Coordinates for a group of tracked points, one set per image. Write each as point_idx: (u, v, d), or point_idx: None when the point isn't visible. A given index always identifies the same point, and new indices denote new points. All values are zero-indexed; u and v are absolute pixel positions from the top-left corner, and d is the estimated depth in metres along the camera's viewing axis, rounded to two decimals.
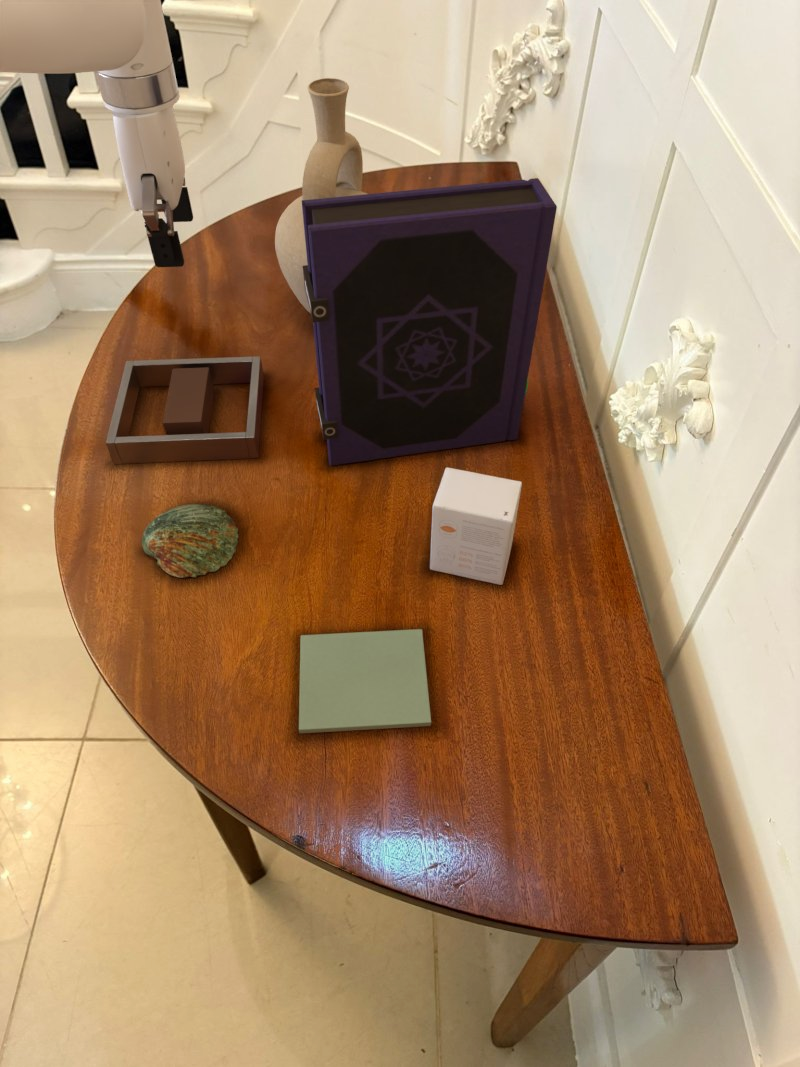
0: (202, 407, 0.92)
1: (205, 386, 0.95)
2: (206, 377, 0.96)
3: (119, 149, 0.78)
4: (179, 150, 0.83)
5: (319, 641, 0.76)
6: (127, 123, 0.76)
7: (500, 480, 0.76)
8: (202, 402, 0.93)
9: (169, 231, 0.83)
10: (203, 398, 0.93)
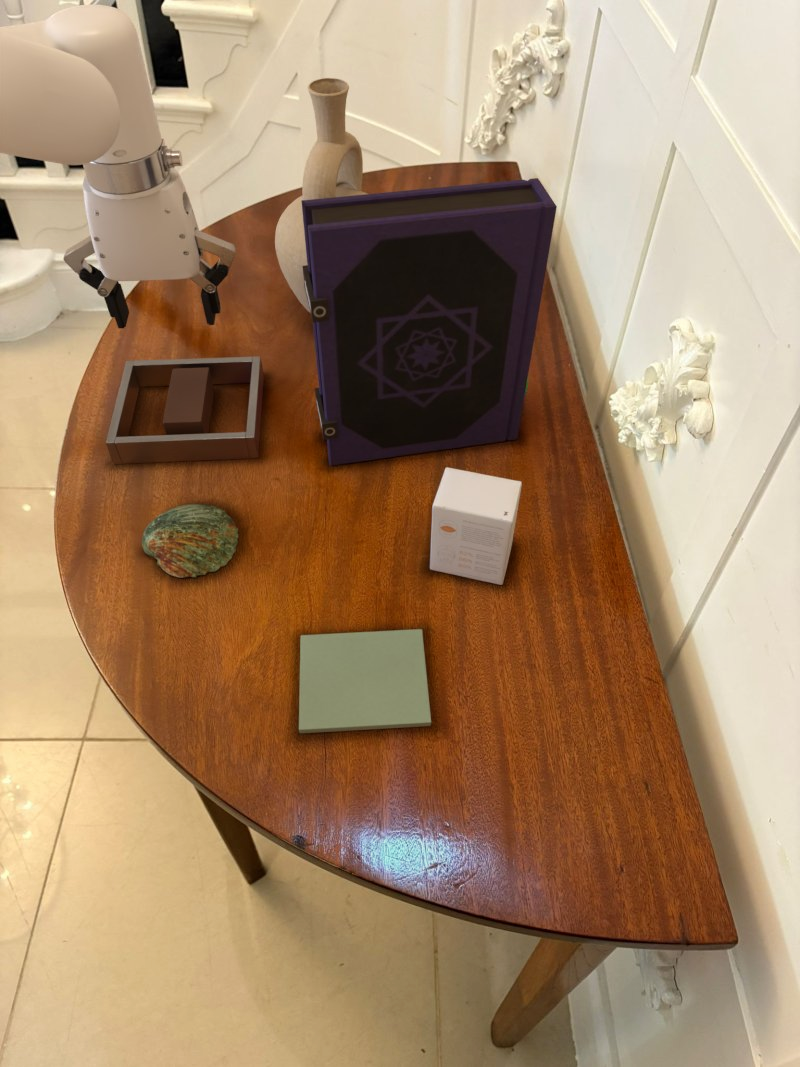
0: (202, 407, 0.92)
1: (205, 386, 0.95)
2: (206, 377, 0.96)
3: None
4: (154, 248, 0.77)
5: (319, 641, 0.76)
6: None
7: (500, 480, 0.76)
8: (202, 402, 0.93)
9: None
10: (203, 398, 0.93)
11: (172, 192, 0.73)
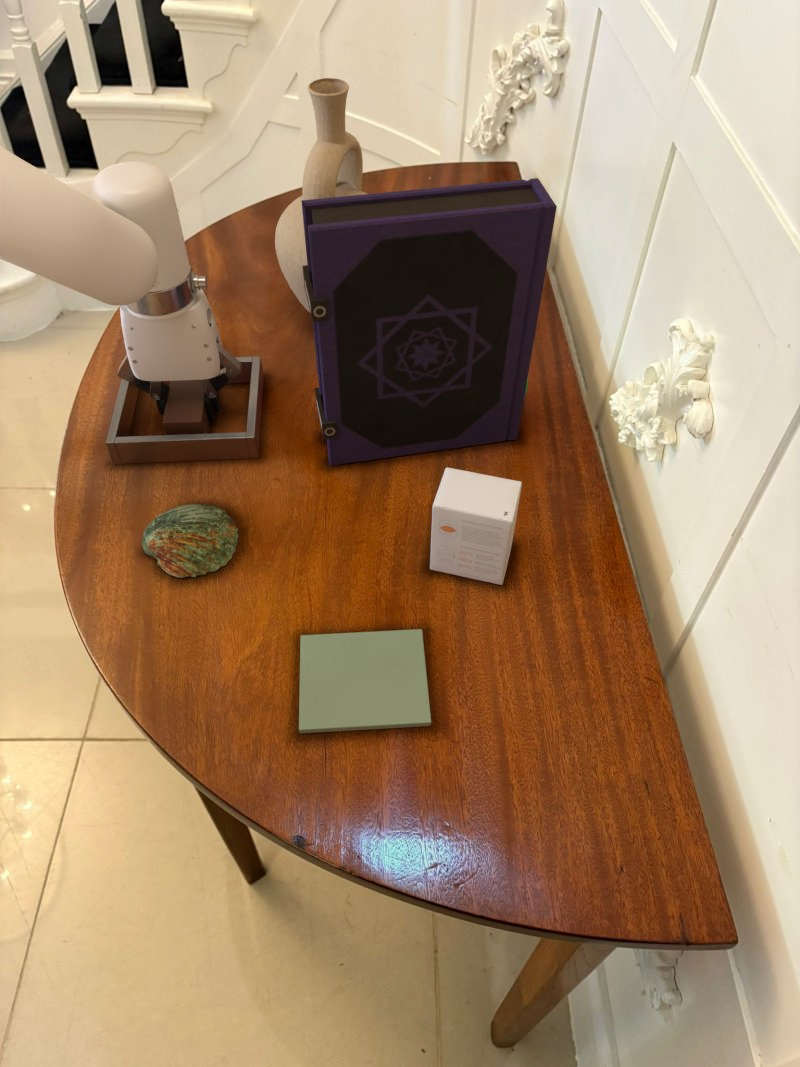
0: (202, 407, 0.92)
1: None
2: None
3: None
4: (181, 356, 0.87)
5: (319, 641, 0.76)
6: None
7: (500, 480, 0.76)
8: (202, 402, 0.93)
9: (150, 393, 0.92)
10: (203, 398, 0.93)
11: (198, 311, 0.83)
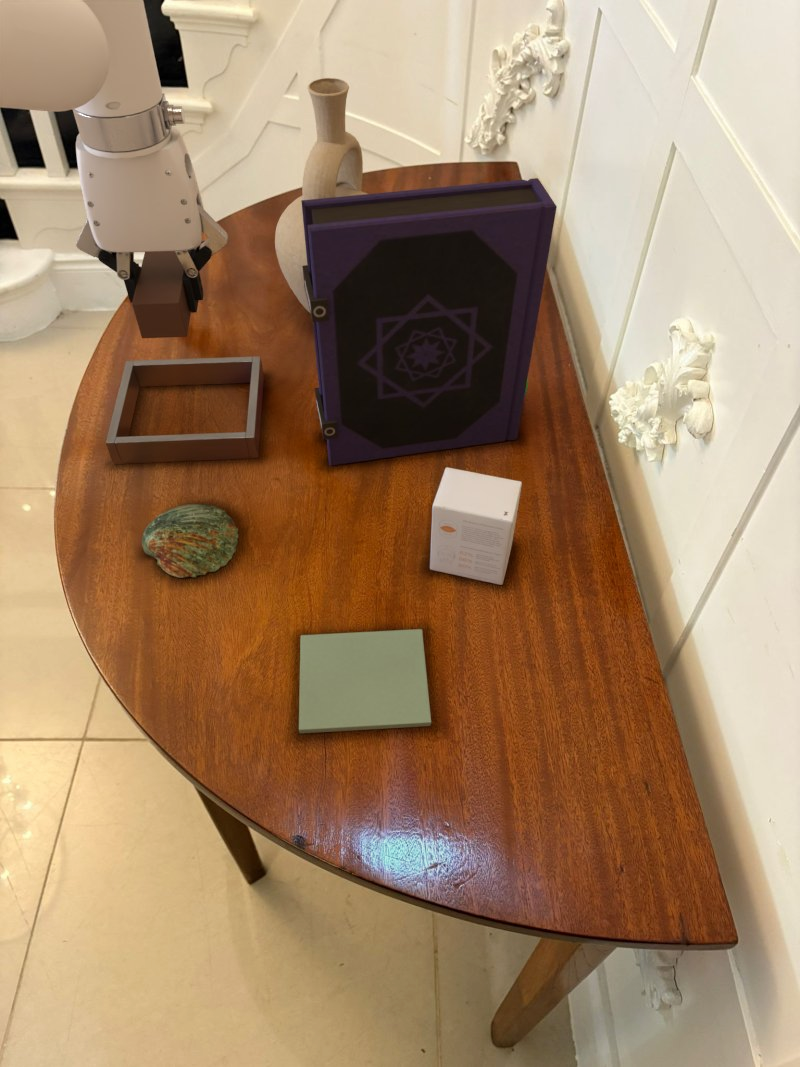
0: (180, 288, 0.76)
1: None
2: None
3: None
4: (153, 215, 0.71)
5: (319, 641, 0.76)
6: None
7: (500, 480, 0.76)
8: (180, 283, 0.77)
9: (117, 271, 0.76)
10: None
11: (173, 152, 0.67)
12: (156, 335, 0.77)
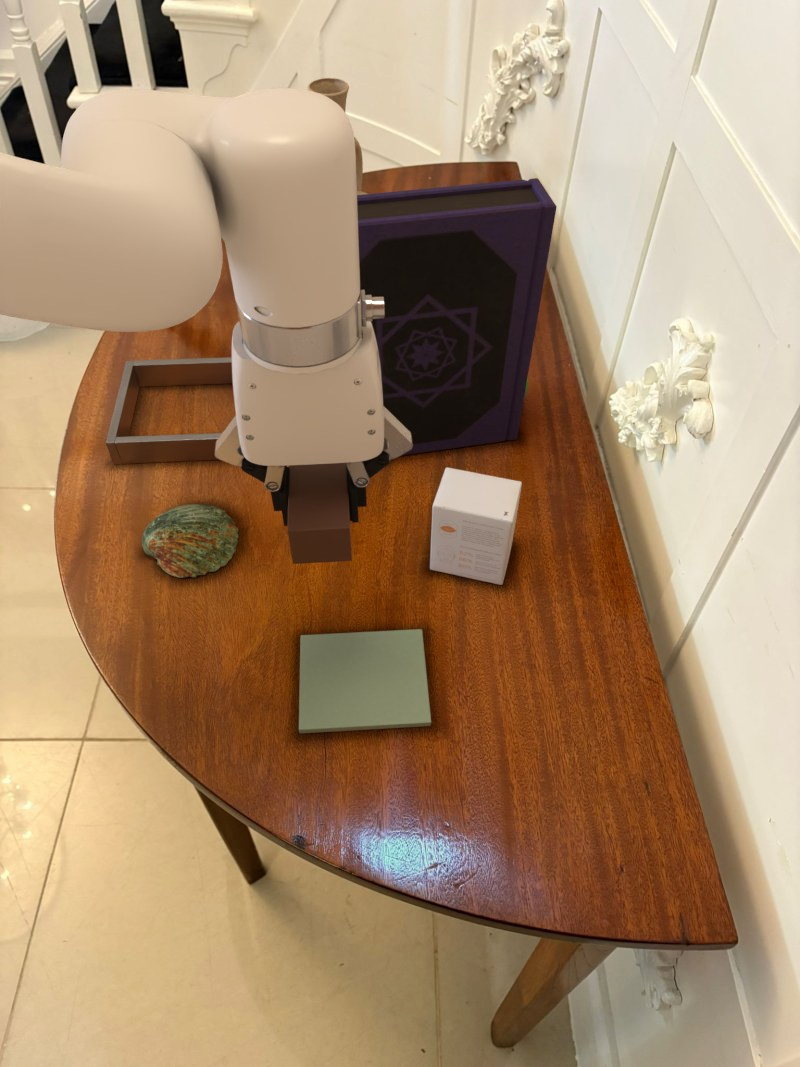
0: (347, 502, 0.58)
1: (345, 465, 0.60)
2: None
3: None
4: (327, 428, 0.52)
5: (319, 641, 0.76)
6: None
7: (500, 480, 0.76)
8: (345, 493, 0.58)
9: (264, 482, 0.57)
10: (346, 486, 0.59)
11: (368, 356, 0.49)
12: (312, 560, 0.59)
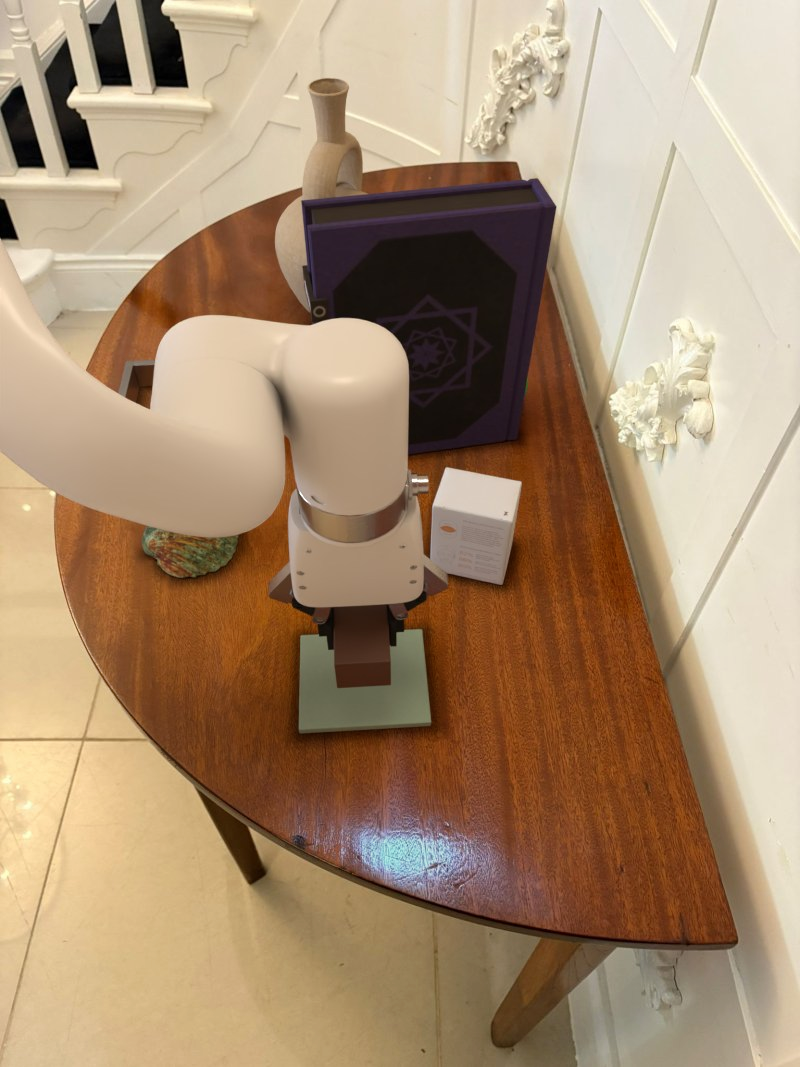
0: (387, 634, 0.63)
1: None
2: None
3: None
4: (373, 581, 0.57)
5: (319, 641, 0.76)
6: (289, 504, 0.55)
7: (500, 480, 0.76)
8: (386, 625, 0.64)
9: (312, 616, 0.63)
10: (386, 618, 0.64)
11: (413, 525, 0.54)
12: (355, 685, 0.64)
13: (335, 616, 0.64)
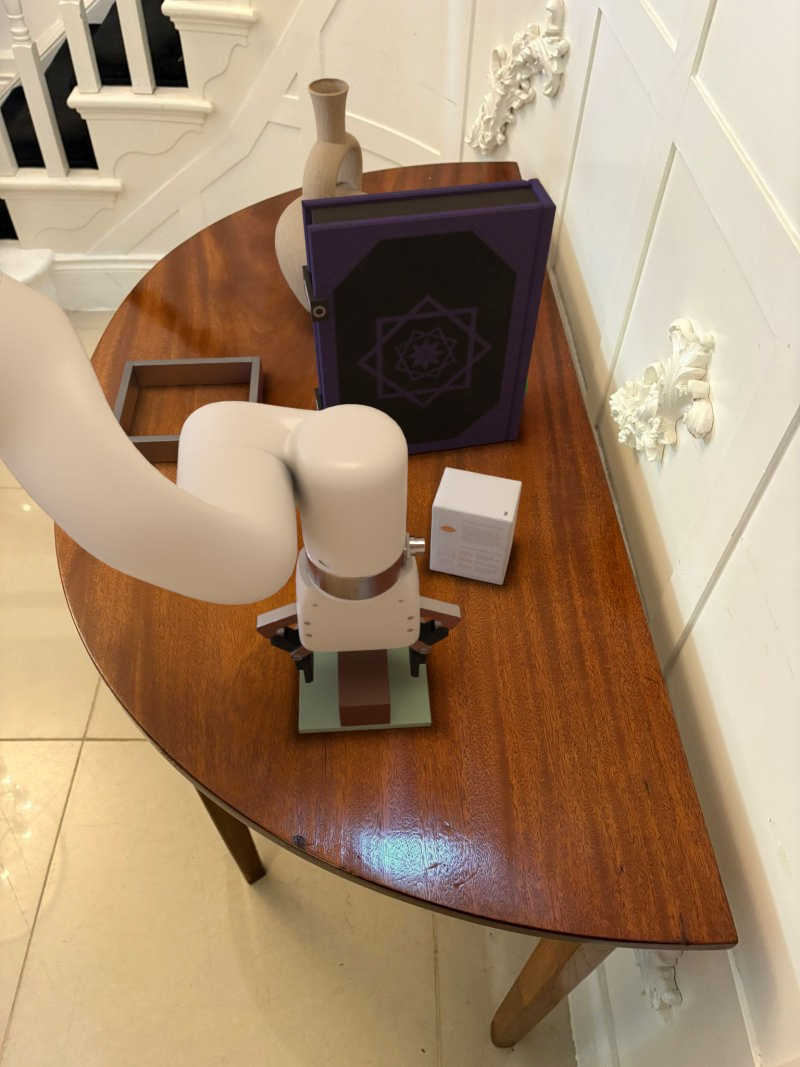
0: (387, 678, 0.69)
1: None
2: None
3: None
4: (374, 630, 0.62)
5: None
6: (297, 561, 0.60)
7: (500, 480, 0.76)
8: (386, 669, 0.69)
9: (290, 653, 0.67)
10: (386, 662, 0.70)
11: (410, 582, 0.59)
12: (357, 724, 0.70)
13: (339, 660, 0.70)
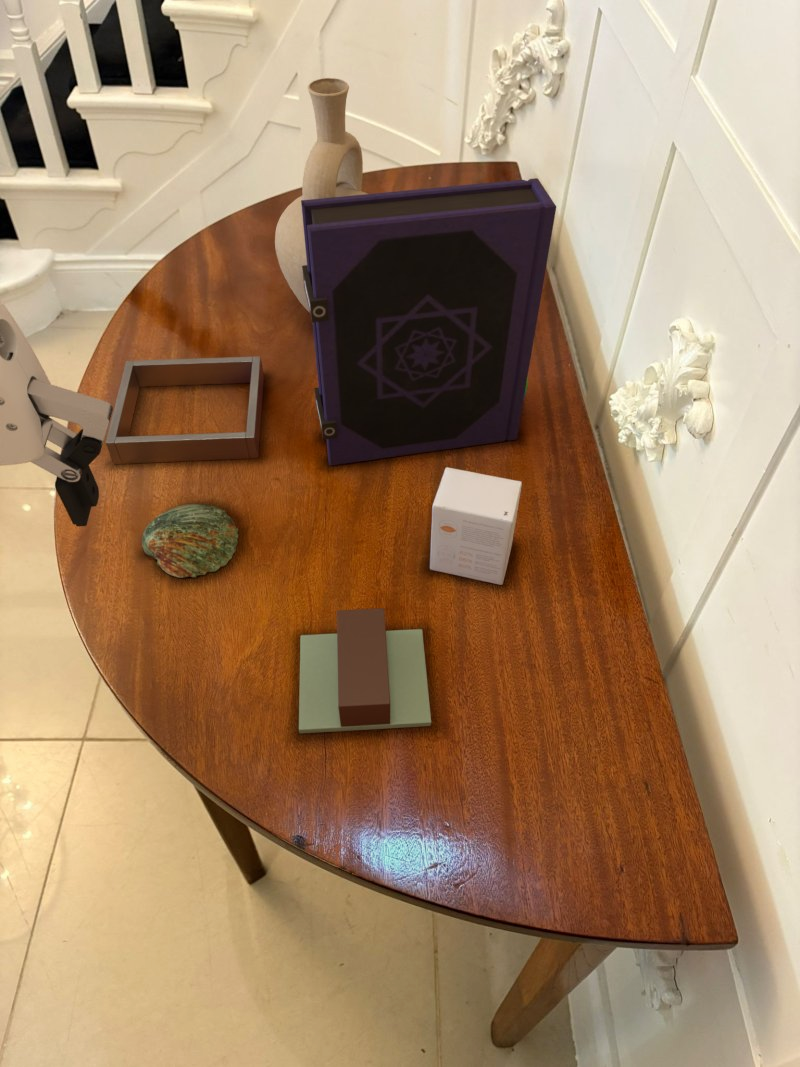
0: (387, 678, 0.69)
1: (385, 641, 0.71)
2: (384, 625, 0.72)
3: None
4: None
5: (319, 641, 0.76)
6: None
7: (500, 480, 0.76)
8: (386, 669, 0.69)
9: None
10: (386, 662, 0.70)
11: None
12: (357, 724, 0.70)
13: (339, 660, 0.70)
